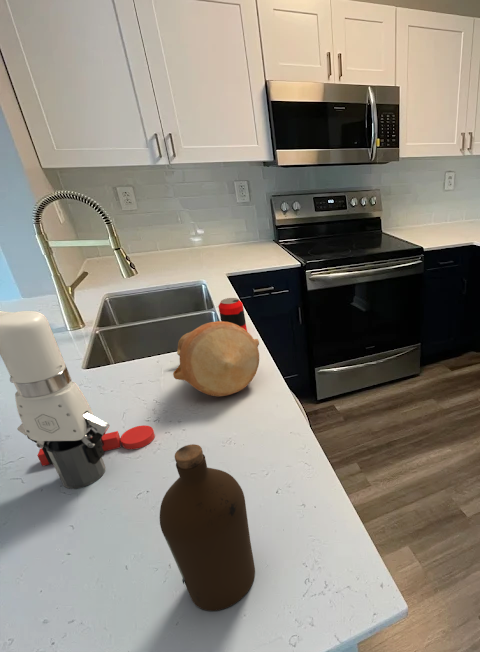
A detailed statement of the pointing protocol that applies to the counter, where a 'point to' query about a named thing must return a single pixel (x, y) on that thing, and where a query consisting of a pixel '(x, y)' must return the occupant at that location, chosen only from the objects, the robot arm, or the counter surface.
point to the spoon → (119, 440)
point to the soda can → (232, 312)
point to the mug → (74, 463)
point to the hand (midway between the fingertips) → (77, 458)
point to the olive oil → (208, 532)
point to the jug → (217, 358)
